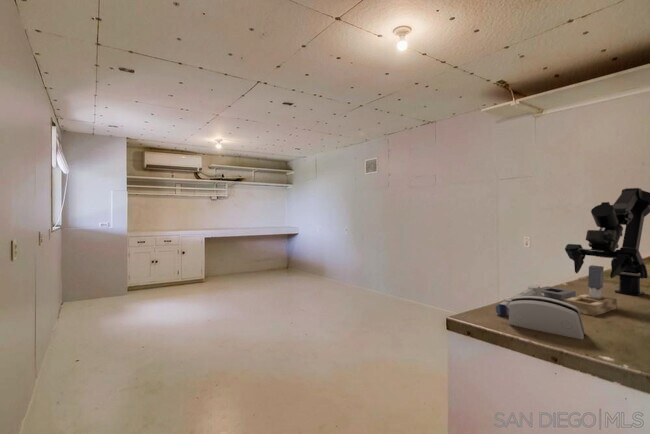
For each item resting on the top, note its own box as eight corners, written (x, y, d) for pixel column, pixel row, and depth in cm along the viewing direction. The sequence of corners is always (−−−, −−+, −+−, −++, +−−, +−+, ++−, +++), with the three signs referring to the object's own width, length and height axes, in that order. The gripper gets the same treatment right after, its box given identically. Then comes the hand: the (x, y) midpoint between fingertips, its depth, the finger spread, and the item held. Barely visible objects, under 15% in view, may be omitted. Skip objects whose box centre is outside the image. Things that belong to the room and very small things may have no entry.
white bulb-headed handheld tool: (492, 302, 101) (529, 279, 115) (494, 322, 101) (530, 297, 116) (510, 305, 96) (546, 281, 111) (512, 327, 97) (547, 301, 111)
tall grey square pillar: (590, 304, 107) (591, 265, 106) (601, 307, 105) (603, 266, 104) (587, 306, 105) (588, 266, 104) (599, 309, 103) (601, 268, 102)
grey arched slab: (586, 333, 84) (584, 299, 81) (583, 345, 80) (581, 310, 78) (512, 319, 95) (508, 289, 93) (508, 329, 92) (503, 298, 90)
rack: (586, 302, 110) (586, 293, 110) (616, 308, 103) (616, 298, 103) (564, 309, 104) (564, 299, 104) (594, 316, 97) (594, 305, 97)
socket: (547, 294, 122) (547, 286, 122) (575, 299, 114) (575, 291, 114) (533, 297, 117) (533, 289, 117) (561, 303, 109) (561, 294, 109)
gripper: (567, 220, 114) (550, 255, 109) (638, 221, 98) (623, 262, 93) (578, 241, 119) (563, 276, 113) (648, 245, 102) (634, 286, 97)
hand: (592, 274), depth 104 cm, fingers open, 9 cm apart
